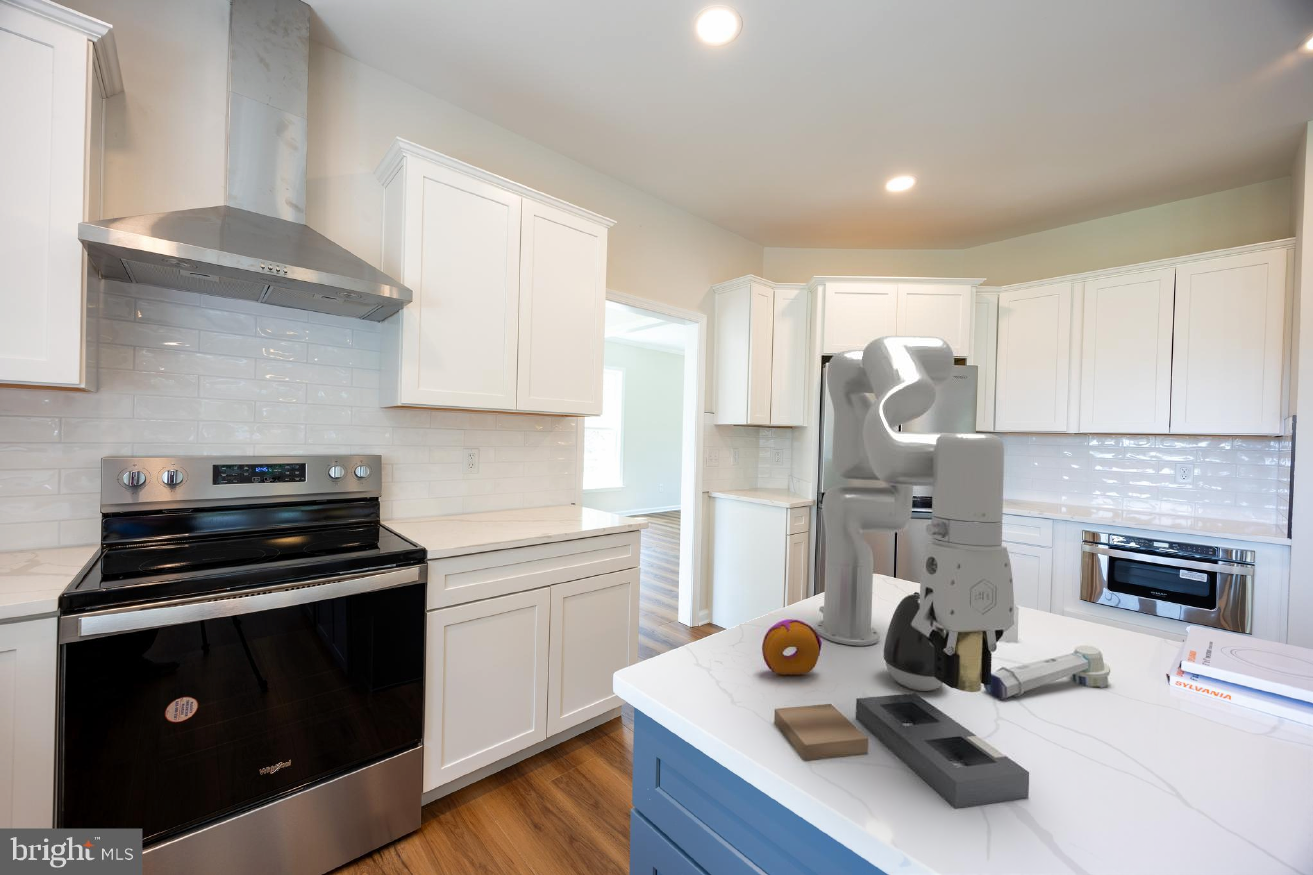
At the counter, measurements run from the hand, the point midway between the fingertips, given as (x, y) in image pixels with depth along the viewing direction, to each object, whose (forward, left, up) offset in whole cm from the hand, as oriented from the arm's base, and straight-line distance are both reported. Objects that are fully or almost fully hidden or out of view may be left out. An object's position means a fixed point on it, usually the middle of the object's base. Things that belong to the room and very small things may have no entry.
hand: (962, 680), depth 65 cm
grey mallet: (-18, +34, -12) cm, 40 cm away
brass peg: (0, 0, 0) cm, 0 cm away
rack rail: (-5, 0, -12) cm, 13 cm away
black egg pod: (-23, +12, -12) cm, 28 cm away
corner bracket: (-43, +44, -12) cm, 63 cm away
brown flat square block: (-11, -13, -12) cm, 21 cm away
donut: (-29, -8, -12) cm, 32 cm away
